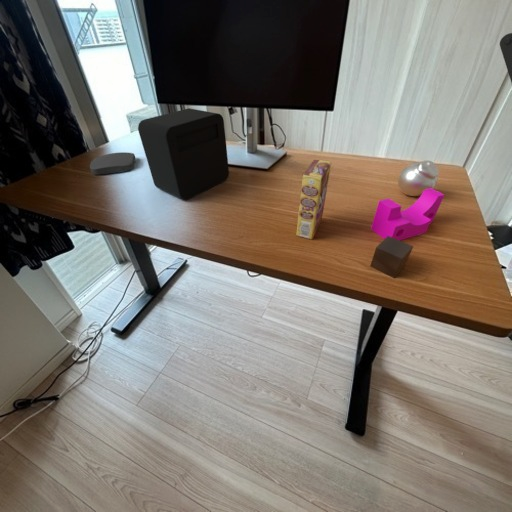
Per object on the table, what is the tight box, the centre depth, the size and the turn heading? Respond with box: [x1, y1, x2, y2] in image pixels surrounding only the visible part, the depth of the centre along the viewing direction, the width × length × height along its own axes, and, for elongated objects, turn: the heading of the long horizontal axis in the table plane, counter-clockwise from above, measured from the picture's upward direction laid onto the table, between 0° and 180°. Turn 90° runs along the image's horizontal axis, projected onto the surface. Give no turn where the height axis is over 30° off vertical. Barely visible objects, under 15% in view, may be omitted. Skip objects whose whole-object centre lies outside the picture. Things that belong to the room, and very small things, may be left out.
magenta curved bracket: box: [370, 188, 445, 241], centre depth 62 cm, size 15×6×8 cm, turn 111°
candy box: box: [295, 159, 332, 240], centre depth 60 cm, size 9×4×15 cm, turn 155°
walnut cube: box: [370, 236, 414, 279], centre depth 53 cm, size 5×5×5 cm
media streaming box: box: [89, 151, 137, 175], centre depth 100 cm, size 15×15×3 cm
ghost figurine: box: [397, 159, 440, 197], centre depth 73 cm, size 9×10×10 cm
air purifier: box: [137, 108, 230, 201], centre depth 80 cm, size 20×15×20 cm
